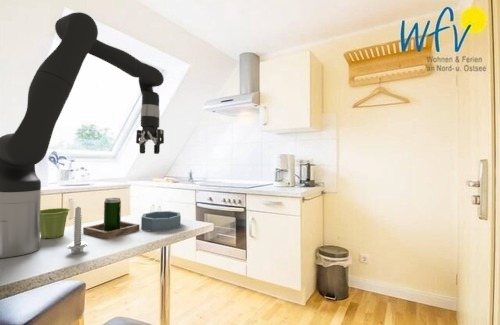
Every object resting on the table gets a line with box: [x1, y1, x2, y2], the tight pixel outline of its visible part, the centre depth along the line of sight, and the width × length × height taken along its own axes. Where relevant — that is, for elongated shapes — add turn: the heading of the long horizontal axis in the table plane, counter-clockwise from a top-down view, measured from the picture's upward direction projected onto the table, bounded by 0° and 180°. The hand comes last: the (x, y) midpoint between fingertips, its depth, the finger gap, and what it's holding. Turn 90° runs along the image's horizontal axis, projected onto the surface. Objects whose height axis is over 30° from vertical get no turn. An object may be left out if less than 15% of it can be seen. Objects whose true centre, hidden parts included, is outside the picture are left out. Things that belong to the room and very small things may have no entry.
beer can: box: [103, 197, 122, 232], centre depth 94 cm, size 5×5×12 cm
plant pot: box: [40, 207, 71, 240], centre depth 86 cm, size 9×9×9 cm
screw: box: [66, 206, 88, 255], centre depth 73 cm, size 13×5×5 cm
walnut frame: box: [82, 220, 140, 240], centre depth 94 cm, size 13×13×2 cm
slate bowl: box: [140, 210, 182, 232], centre depth 103 cm, size 14×14×4 cm
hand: (149, 153), depth 112 cm, fingers open, 8 cm apart
